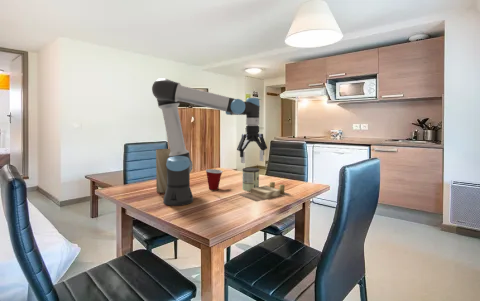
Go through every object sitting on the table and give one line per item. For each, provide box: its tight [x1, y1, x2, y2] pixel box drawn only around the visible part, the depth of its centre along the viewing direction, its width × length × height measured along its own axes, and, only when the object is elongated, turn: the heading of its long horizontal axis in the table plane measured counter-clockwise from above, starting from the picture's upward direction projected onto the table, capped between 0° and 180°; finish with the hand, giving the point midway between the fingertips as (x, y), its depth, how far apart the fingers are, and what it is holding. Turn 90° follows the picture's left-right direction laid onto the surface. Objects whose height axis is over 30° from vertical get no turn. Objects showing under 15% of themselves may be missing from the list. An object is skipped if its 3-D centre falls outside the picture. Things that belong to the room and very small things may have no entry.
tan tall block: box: [155, 148, 170, 194], centre depth 164 cm, size 10×10×25 cm
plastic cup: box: [205, 168, 223, 191], centre depth 170 cm, size 11×11×12 cm
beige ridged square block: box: [250, 185, 280, 198], centre depth 154 cm, size 12×12×3 cm
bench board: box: [238, 181, 291, 203], centre depth 154 cm, size 26×16×6 cm, turn 127°
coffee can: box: [241, 167, 260, 192], centre depth 165 cm, size 10×10×14 cm
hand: (252, 162), depth 158 cm, fingers open, 13 cm apart
